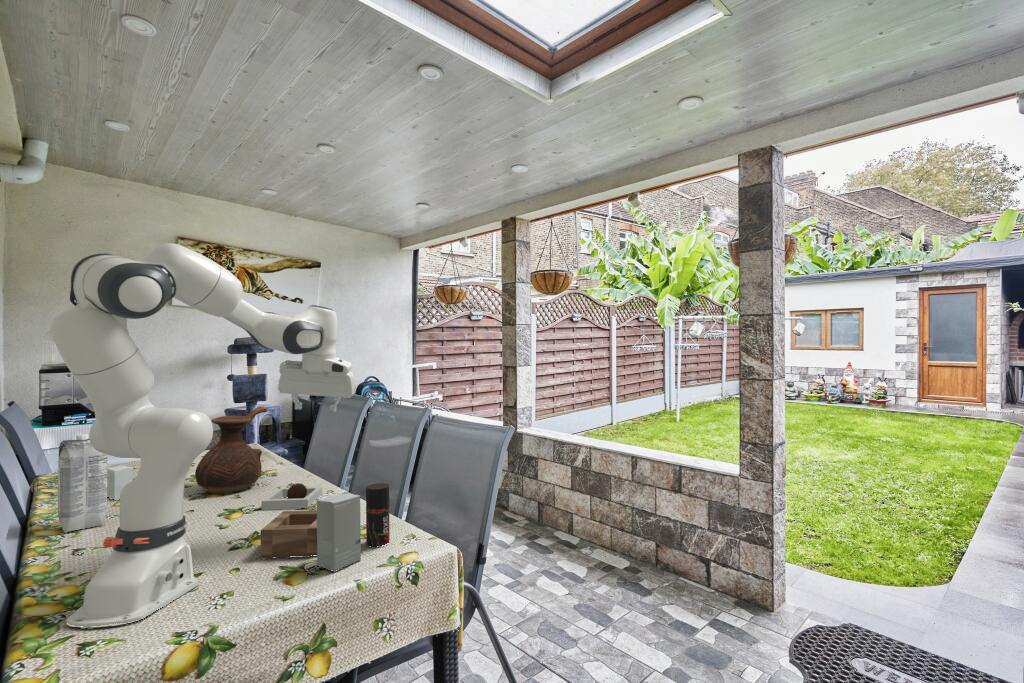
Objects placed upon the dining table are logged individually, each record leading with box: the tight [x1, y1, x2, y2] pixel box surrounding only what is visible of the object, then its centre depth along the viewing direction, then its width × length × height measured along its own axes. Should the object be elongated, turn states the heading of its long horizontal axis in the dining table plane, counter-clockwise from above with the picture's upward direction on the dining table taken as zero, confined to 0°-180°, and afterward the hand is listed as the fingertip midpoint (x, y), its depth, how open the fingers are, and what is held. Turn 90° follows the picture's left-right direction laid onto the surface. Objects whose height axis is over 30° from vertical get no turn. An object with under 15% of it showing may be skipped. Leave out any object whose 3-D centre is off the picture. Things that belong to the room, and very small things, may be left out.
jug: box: [194, 405, 268, 495], centre depth 179 cm, size 22×22×30 cm
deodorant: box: [365, 482, 391, 548], centre depth 127 cm, size 6×6×15 cm
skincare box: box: [316, 492, 362, 572], centre depth 115 cm, size 8×7×16 cm
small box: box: [107, 464, 134, 501], centre depth 170 cm, size 8×6×10 cm
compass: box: [286, 482, 307, 499], centre depth 162 cm, size 8×8×7 cm
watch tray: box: [261, 486, 323, 511], centre depth 162 cm, size 14×14×3 cm
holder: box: [260, 509, 317, 559], centre depth 125 cm, size 14×14×7 cm
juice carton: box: [57, 434, 108, 533], centre depth 141 cm, size 9×10×27 cm
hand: (315, 410), depth 137 cm, fingers open, 8 cm apart
